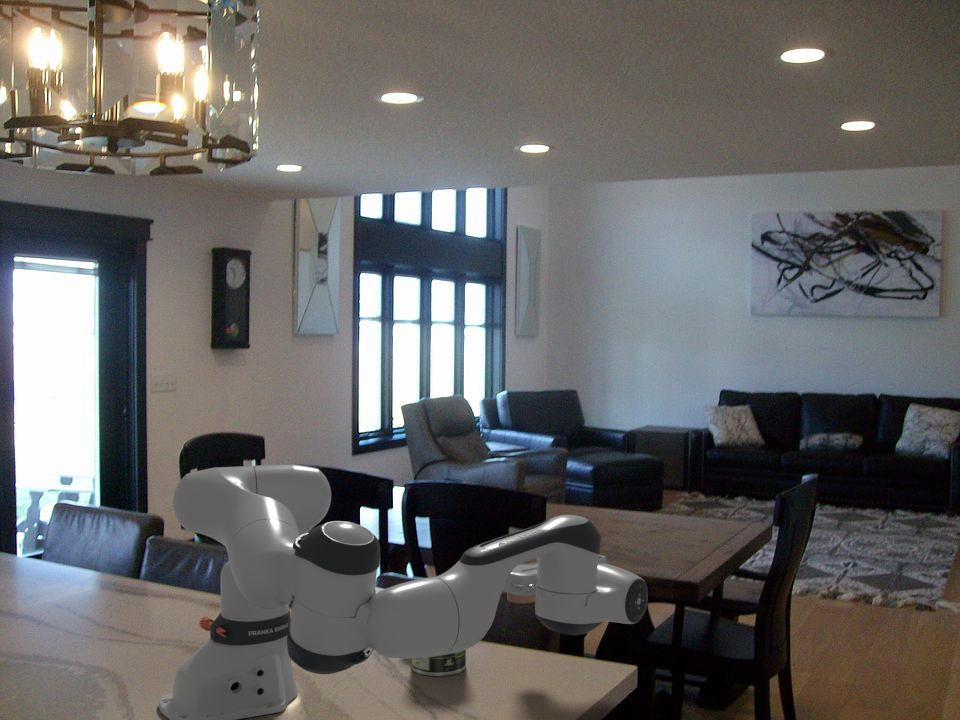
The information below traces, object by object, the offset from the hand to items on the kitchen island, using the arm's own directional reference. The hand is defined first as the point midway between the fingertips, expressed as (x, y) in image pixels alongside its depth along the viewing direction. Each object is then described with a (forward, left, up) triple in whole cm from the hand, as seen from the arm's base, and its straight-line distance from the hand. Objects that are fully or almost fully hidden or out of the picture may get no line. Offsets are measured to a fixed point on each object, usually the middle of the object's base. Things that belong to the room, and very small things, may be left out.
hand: (519, 565), depth 182 cm
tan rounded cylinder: (0, -1, -6) cm, 6 cm away
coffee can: (-12, +9, -19) cm, 24 cm away
